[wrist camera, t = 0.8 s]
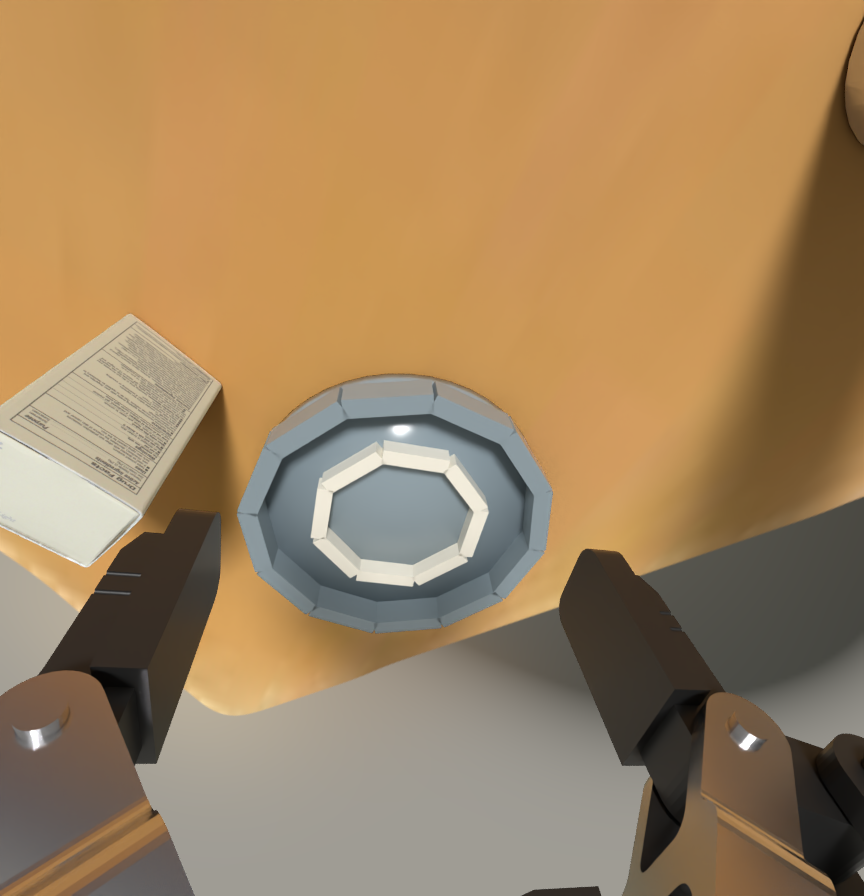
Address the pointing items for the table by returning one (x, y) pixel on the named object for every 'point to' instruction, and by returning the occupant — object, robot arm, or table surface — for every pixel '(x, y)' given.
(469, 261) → the table surface
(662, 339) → the table surface
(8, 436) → the skincare box
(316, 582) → the ring tray
